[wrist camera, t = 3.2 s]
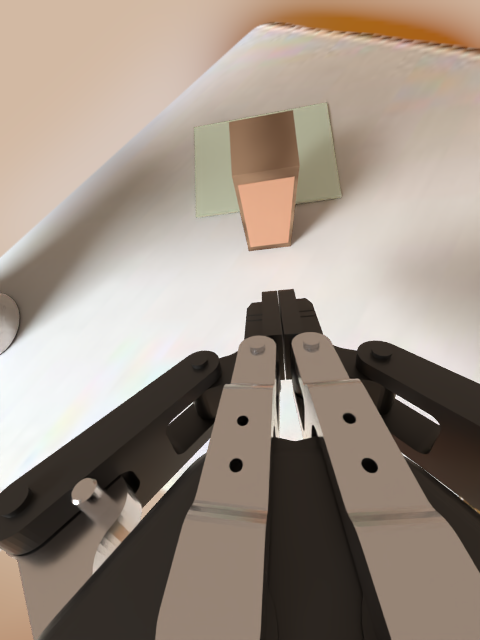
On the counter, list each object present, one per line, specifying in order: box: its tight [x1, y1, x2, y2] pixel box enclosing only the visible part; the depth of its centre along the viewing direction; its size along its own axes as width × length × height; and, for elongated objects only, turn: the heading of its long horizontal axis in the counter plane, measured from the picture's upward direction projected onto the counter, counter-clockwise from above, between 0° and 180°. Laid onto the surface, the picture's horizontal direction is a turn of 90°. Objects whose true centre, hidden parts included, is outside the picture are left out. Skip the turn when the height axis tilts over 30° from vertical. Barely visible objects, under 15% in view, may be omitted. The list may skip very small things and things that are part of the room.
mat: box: [194, 102, 342, 218], centre depth 32 cm, size 18×14×1 cm
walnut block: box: [229, 110, 300, 251], centre depth 25 cm, size 5×5×12 cm
